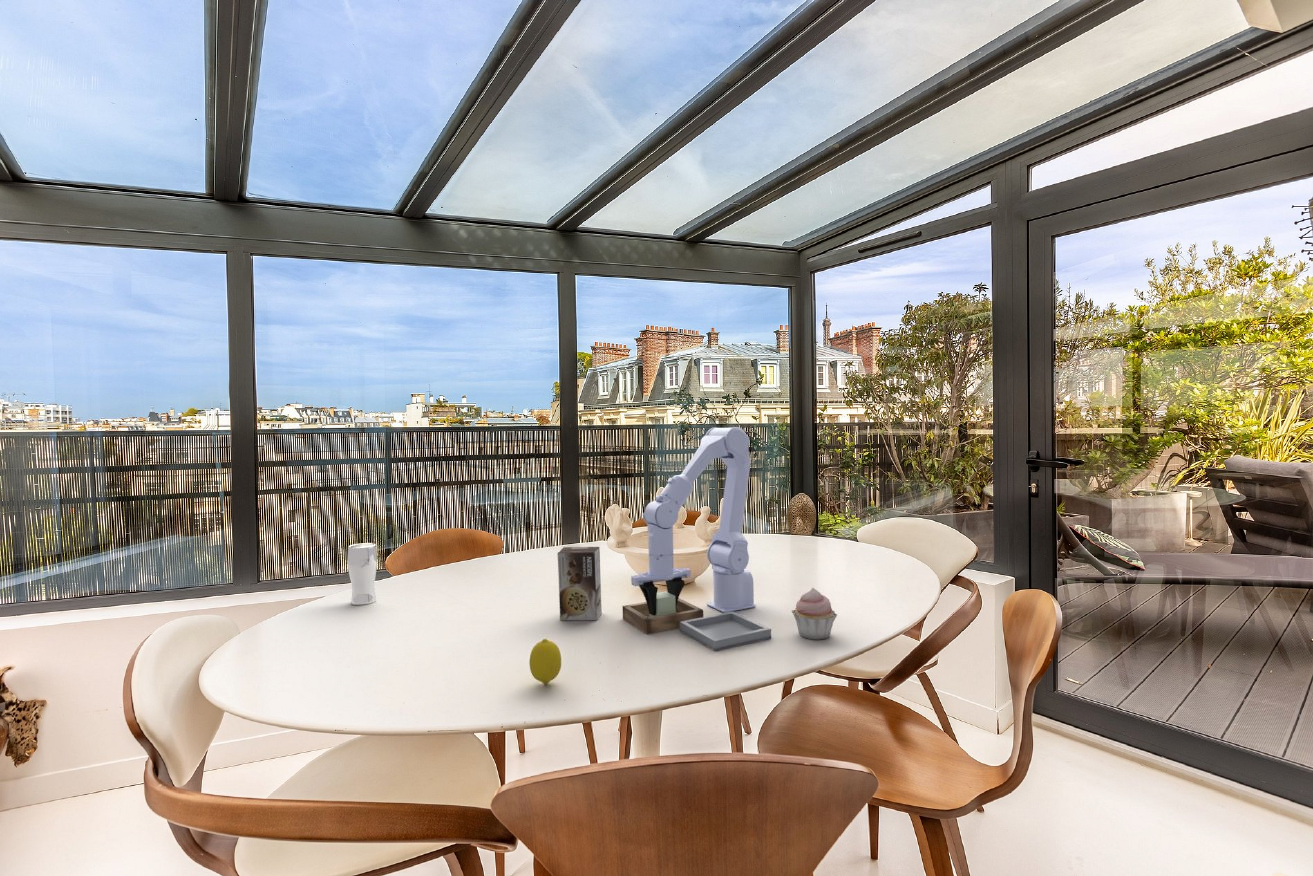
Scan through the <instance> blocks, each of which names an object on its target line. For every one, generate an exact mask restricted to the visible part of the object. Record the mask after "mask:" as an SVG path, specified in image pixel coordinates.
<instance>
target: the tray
mask: <svg viewBox="0 0 1313 876" xmlns="http://www.w3.org/2000/svg"><path fill="white" fill-rule="evenodd" d="M679 631H680V632H681V633H683V634H685V635H686V636H688V637H690V638H692V639H694V640H695V641H697V642H699V643H701V644H702V645H704V646H705V647H707V648H709V649H711V650H712V651H715V652H717V651H721V650H726V649H730V648H733V647H738V646H742V645H747V644H748V645H749V644H752V643H757V642H761V641H765V640H769V639H770V640H771V639H772V628H770V627H768V626H766V625H763V624H761V623H759V622H757V621H755V620H752V619H750V618H748V617H746V616H744V615H742V614H739V613H737V612H735V611H731V612H725V613H724V612H721V613H718V614H712V615H708V616H707V615H706V616H703V617H701V618H696V619H691V620H686V621H681V622H680V628H679Z"/></svg>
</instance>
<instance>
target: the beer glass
mask: <svg viewBox="0 0 1313 876" xmlns="http://www.w3.org/2000/svg"><path fill="white" fill-rule="evenodd" d="M376 546H377V545H376V543H373V542H365V543H354V544H351V545H348V546H347V570H348V575H349V579H350V584H351V590H352V591H351V599H350V604H351V605H352V606H365V605H371V604H373V603H375V602H376V601H377V595H376V591H375V581H376V576H377V575H376V574H377V570H378V569H377V566H378V556H377V547H376Z"/></svg>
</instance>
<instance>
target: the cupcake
mask: <svg viewBox="0 0 1313 876" xmlns="http://www.w3.org/2000/svg"><path fill="white" fill-rule="evenodd" d="M835 612H836V611H835V610H833V608H832V604H831V602H830V599H829V598H828V597H827V596H825V595H824V594H822V593H821V592H820V591H818V590H817V589H815V588H814V587H812V588H811V589H810V590H809V591H807V592H804V594H802V595H801V596H800V599H799V600H797V602H796V604H795V609H793V610H791V613H792V615H793V617H794V619H795V623H796V626H797V627H796V628H797V630H798V634H799V635H800V636H801V637H802V638H805V639H807V640H808V639H809V640H825V639H828V638H830V636H831V633H832V629H833V626H834V625H833V624H834V622H835V620H836V618H837V616H838V613H835Z"/></svg>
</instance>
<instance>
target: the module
mask: <svg viewBox="0 0 1313 876" xmlns="http://www.w3.org/2000/svg"><path fill="white" fill-rule="evenodd" d="M673 613H677V612H676V606H675V595H672V594H670V593H668V592H667V590H666V591H662V592H661V591H660V592H657V596H656V615H654V616H653V615H651V614H649V616H648V618H652V617H657V616H662V615H668V614H673Z"/></svg>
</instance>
